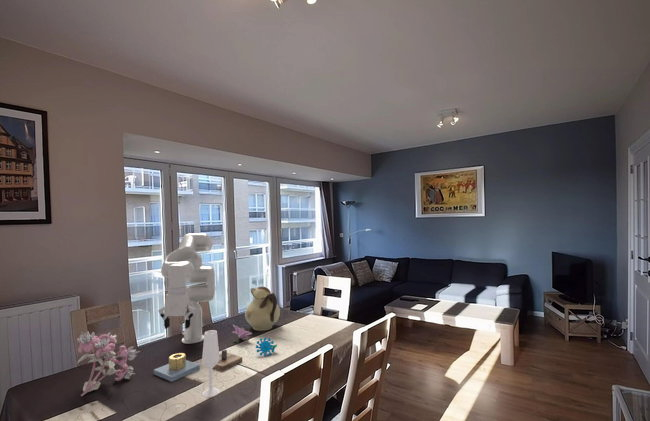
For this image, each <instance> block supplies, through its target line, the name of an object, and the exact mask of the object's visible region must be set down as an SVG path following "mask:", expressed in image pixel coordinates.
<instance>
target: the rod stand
mask: <svg viewBox="0 0 650 421" xmlns="http://www.w3.org/2000/svg"><path fill="white" fill-rule="evenodd" d="M219 357H220V359H219V361H218V363H217V364H216V365H215V366H214V367H213V368H212V369H216V370H219V371H222V372H224V371H226V370H228V369H230V368H232V367H234V366H235V365H238V364H240V363H242V362H243V356H240V355H236V354H233V353H229V352H228V350H227V349H221V354H219Z"/></svg>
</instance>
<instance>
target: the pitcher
mask: <svg viewBox="0 0 650 421" xmlns="http://www.w3.org/2000/svg"><path fill="white" fill-rule="evenodd" d="M250 293H251V295H252V296H253V299H252V300H251V302H250V303H249V304H248V305H247V307H246V309H245V311H244V318H245V320H246V321H247V323H248V324H249V325H250V326H251V327H252V329H253V331H257V332H259V331H260V332H262V331H264V332H265V331H269V330H271V329H272V328H273V326H274V325H275V324H276V323H277V321H278V320H279V318H280V317H281V316H280V315H281V308H280V306H279V305H278V299H277V295H276V294H275V293H274V292H272V291H271V290H270V289H269V288H268V287H266V286H258V287H255V288H252V287H251V288H250Z"/></svg>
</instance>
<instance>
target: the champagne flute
mask: <svg viewBox="0 0 650 421" xmlns="http://www.w3.org/2000/svg"><path fill="white" fill-rule="evenodd" d="M203 335H204V340H203V346H202V354H201V355H202V356H201V357H202V358H201V362H202V365H204V366H205V368H207V369H208V370H209V374H208V375H209V376H208V377H209V380H208V381H209V382H208V384H209V385H208V386H209V387H208V388H206V390H204V391H202V394H201V395H202V397H203V398H210V397H215V396H217V395H218V394H219V393H220V391H221V390H220V389H219V388H217V387H214V386H213V369H214V368H213V367H214V366H215V365H216V364H217V363H218V361H219V359H220V357H219V355H220V349H219V348H220V347H219V340H218V339H219V337H218V332H217V330H215V329H211V330H207V331H205V332H204V334H203Z"/></svg>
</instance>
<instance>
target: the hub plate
mask: <svg viewBox="0 0 650 421" xmlns="http://www.w3.org/2000/svg"><path fill="white" fill-rule="evenodd" d="M178 357H180V356H176V357H174V358H178ZM200 369H201V364H199V363H196V362H193V361H190V360H188V359H186V366H185V367H184V368H183V369H180V370H170V369H169V363H167V364H164V365H162V366H159V367H157V368H154V369H153V375H155V376H156V377H157V376H158V377H160V378H162V379H164V380H167V381H168V382H171V383H172V382H175V381H177V380H179V379H182V378H183V377H185V376H188V375H191V374H192V373H195V372H196V371H199V370H200Z"/></svg>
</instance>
